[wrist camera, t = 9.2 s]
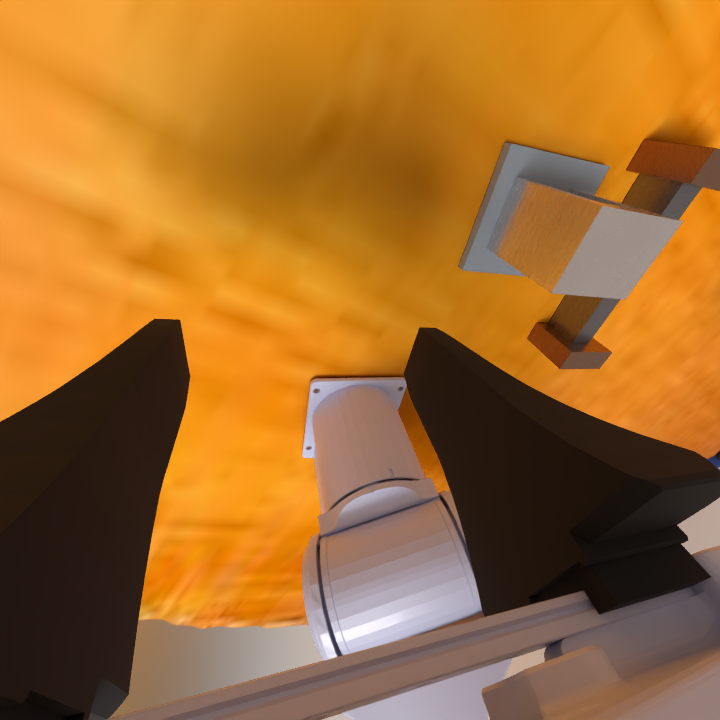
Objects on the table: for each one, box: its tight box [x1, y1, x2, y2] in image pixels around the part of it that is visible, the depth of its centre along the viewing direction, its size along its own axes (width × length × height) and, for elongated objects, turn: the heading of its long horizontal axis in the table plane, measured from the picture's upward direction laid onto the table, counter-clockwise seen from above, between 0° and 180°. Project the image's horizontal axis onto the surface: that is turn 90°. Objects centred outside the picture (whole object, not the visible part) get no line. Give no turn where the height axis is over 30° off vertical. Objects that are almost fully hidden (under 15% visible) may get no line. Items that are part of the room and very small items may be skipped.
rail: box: [527, 140, 720, 369], centre depth 22 cm, size 14×4×4 cm, turn 169°
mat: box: [459, 142, 610, 276], centre depth 20 cm, size 7×7×1 cm
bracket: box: [486, 177, 683, 299], centre depth 18 cm, size 4×5×6 cm
